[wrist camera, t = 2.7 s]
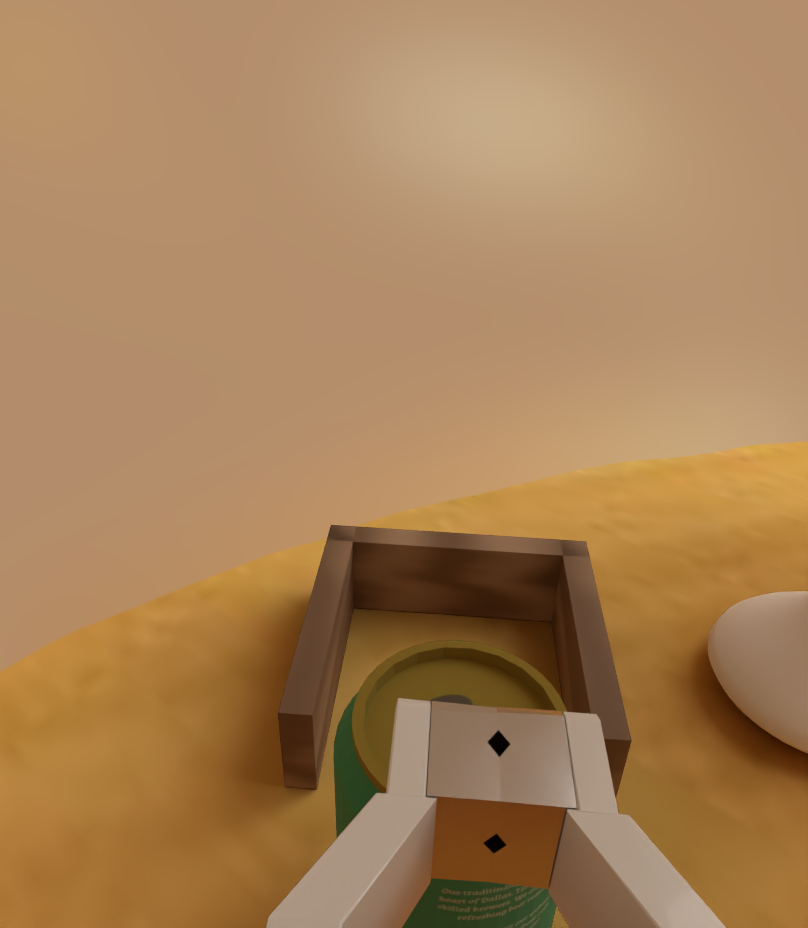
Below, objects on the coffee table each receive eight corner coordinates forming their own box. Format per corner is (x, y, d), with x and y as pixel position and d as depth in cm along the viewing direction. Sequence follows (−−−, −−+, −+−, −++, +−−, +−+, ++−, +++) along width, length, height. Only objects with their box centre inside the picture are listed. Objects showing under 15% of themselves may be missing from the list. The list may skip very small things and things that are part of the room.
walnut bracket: (573, 606, 45) (585, 541, 43) (611, 814, 33) (631, 740, 31) (333, 590, 46) (331, 524, 44) (284, 786, 34) (278, 712, 32)
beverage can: (478, 804, 34) (502, 604, 27) (586, 982, 27) (648, 774, 21) (312, 876, 31) (298, 669, 24) (391, 1094, 24) (398, 889, 18)
